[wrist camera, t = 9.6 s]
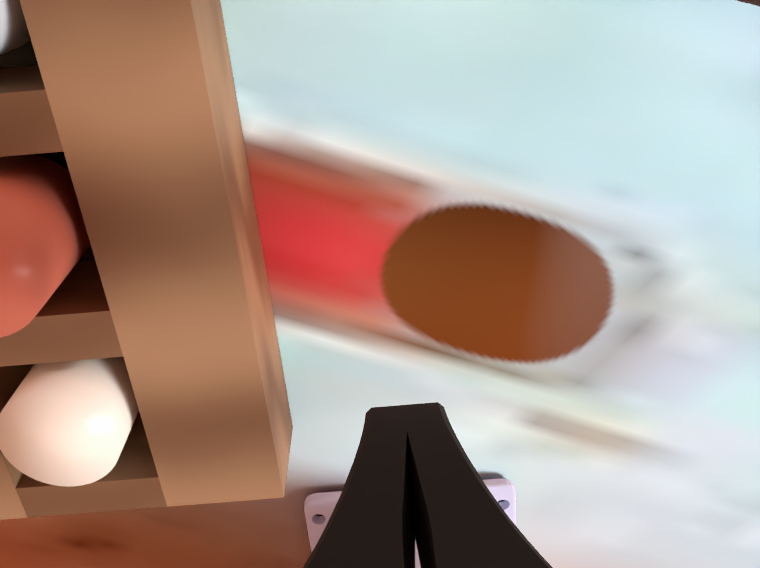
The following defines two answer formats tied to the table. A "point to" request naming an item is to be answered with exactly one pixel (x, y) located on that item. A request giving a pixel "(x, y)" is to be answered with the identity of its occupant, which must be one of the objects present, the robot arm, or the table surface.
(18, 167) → the salmon pink egg
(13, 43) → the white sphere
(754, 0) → the box
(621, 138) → the table surface
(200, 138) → the light brown rack
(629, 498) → the table surface
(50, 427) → the cream plug
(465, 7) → the table surface
